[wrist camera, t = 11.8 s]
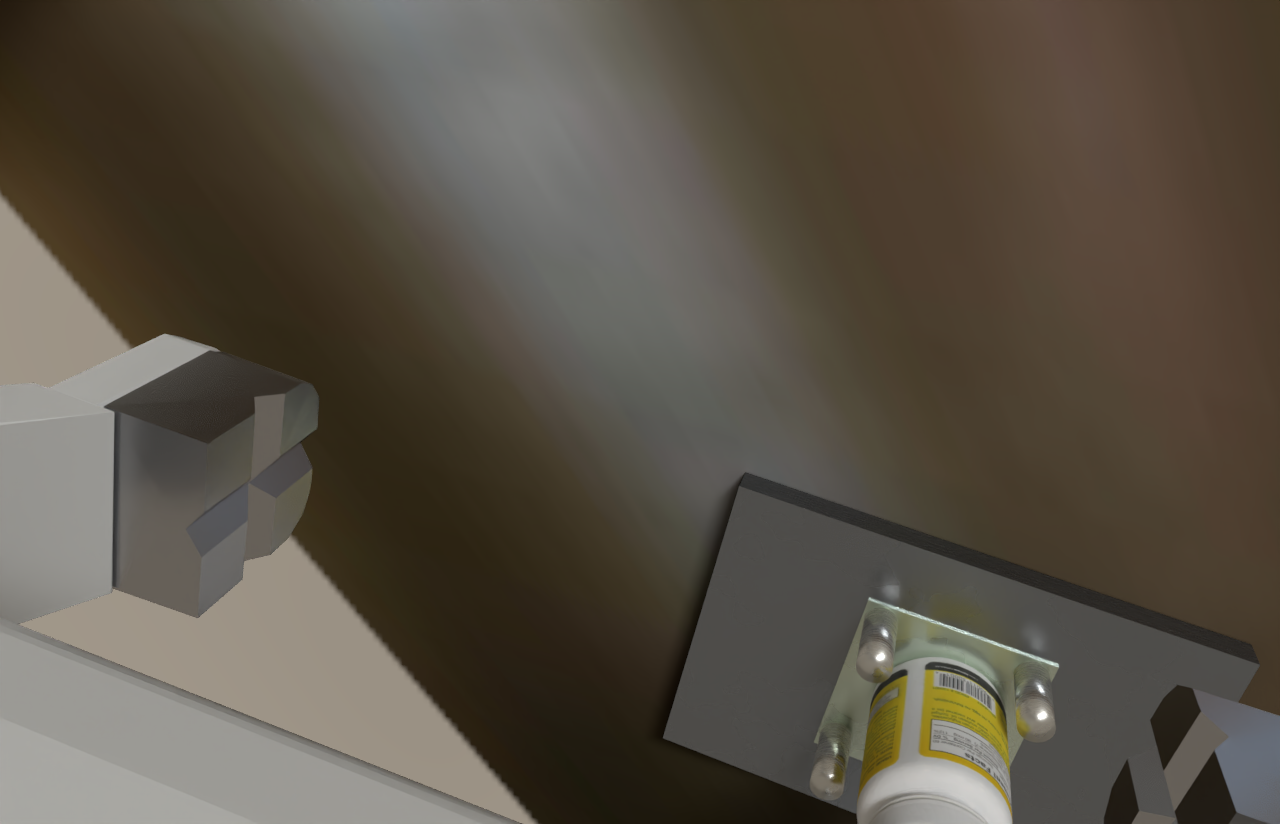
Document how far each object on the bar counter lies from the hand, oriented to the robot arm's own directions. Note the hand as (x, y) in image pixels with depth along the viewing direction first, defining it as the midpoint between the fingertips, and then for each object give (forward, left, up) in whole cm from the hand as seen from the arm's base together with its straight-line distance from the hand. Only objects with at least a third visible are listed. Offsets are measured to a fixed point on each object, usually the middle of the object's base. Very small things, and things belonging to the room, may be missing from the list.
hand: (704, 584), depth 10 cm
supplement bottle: (+8, -18, -26) cm, 32 cm away
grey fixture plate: (+7, -18, -27) cm, 33 cm away
